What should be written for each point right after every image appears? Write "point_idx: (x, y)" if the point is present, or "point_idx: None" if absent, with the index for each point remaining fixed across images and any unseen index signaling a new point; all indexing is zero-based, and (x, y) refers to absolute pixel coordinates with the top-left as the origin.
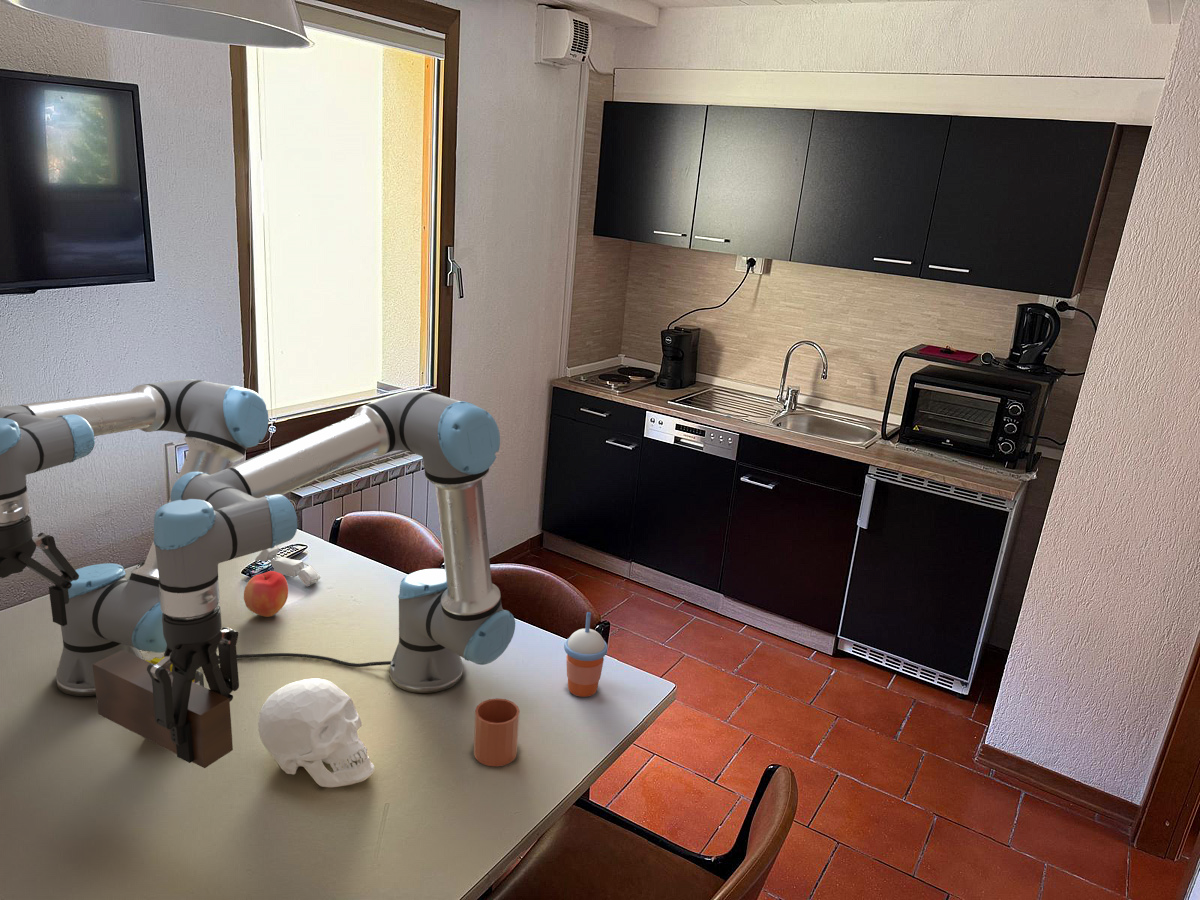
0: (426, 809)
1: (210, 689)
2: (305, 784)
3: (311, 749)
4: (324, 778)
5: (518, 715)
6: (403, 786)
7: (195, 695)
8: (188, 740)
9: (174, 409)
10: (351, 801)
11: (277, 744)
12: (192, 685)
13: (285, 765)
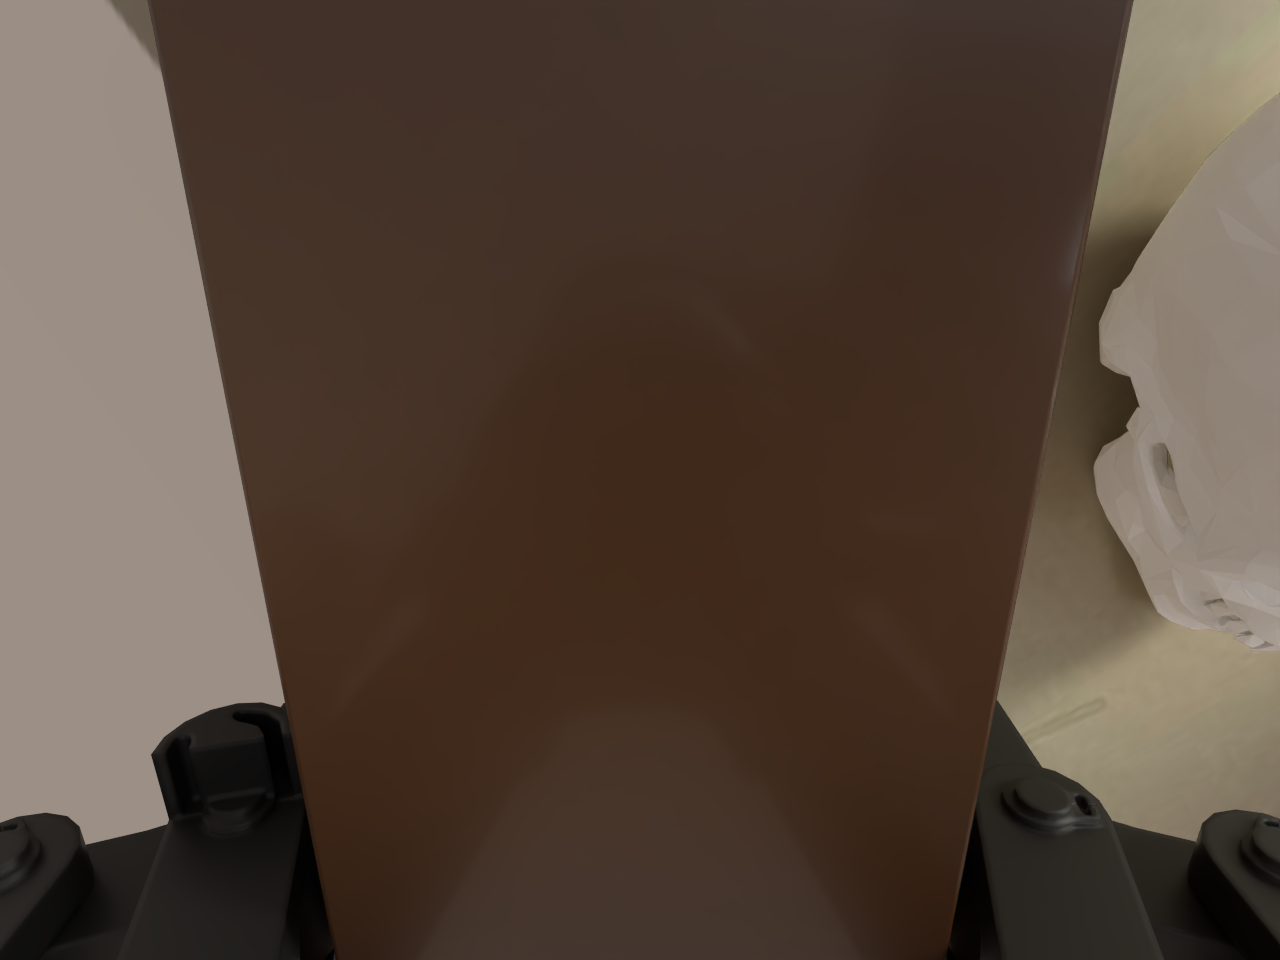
0: (1121, 809)
1: (988, 889)
2: (1084, 398)
3: (1195, 531)
4: (1118, 499)
5: None
6: (1204, 694)
7: (683, 941)
8: None
9: None
10: (1063, 604)
11: (1182, 337)
12: (904, 679)
13: (1107, 359)
